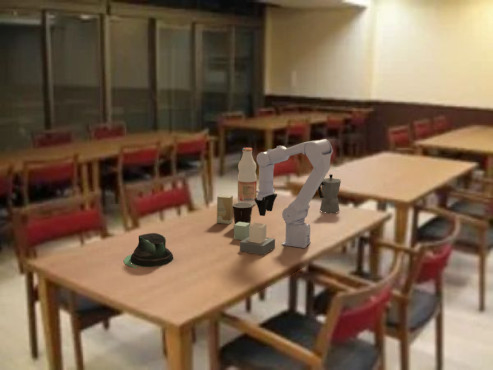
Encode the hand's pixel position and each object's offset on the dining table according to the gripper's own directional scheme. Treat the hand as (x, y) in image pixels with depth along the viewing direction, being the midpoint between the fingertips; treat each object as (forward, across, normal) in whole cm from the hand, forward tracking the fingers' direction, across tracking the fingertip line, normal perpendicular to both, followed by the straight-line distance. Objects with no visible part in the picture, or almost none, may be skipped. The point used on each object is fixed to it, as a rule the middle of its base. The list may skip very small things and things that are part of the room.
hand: (265, 213), depth 240 cm
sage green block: (+10, +6, -8) cm, 14 cm away
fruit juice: (+10, -45, -28) cm, 54 cm away
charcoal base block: (+10, +16, +3) cm, 19 cm away
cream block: (+6, +16, +3) cm, 17 cm away
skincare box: (+10, -11, -24) cm, 28 cm away
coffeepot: (+10, -48, +13) cm, 51 cm away
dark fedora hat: (+10, +43, -28) cm, 52 cm away
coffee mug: (+10, -6, -14) cm, 18 cm away
